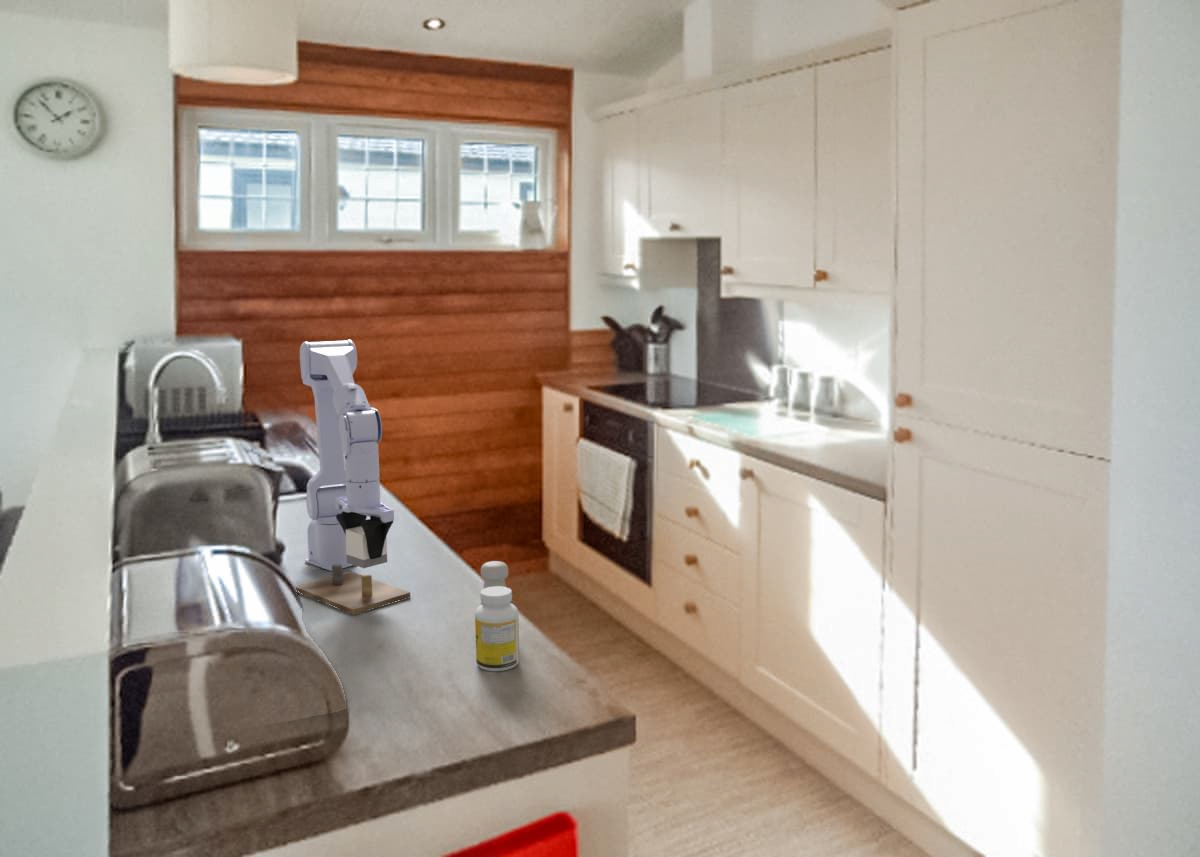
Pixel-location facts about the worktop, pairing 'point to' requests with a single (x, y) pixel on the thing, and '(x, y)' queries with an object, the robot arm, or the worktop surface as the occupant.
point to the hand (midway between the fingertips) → (366, 554)
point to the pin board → (352, 591)
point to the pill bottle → (497, 630)
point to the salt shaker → (494, 574)
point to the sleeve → (361, 549)
